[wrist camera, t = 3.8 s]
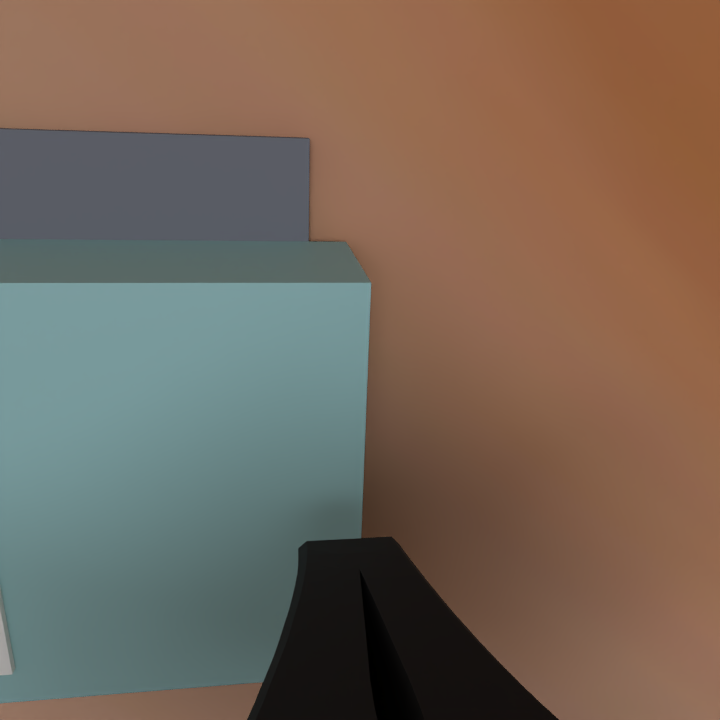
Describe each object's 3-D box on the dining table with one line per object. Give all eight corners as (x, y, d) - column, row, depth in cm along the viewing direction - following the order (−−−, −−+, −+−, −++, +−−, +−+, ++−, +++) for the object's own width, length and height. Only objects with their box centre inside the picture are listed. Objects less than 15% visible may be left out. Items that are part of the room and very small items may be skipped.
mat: (304, 620, 18) (305, 630, 17) (-157, 650, 16) (-167, 663, 16) (308, 138, 14) (309, 138, 13) (-311, 118, 12) (-330, 118, 12)
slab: (356, 680, 13) (-141, 720, 12) (338, 564, 17) (-53, 587, 16) (372, 285, 11) (-271, 286, 9) (345, 241, 14) (-130, 237, 13)
